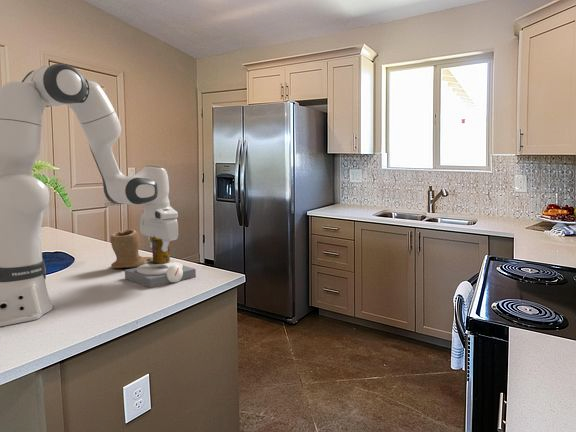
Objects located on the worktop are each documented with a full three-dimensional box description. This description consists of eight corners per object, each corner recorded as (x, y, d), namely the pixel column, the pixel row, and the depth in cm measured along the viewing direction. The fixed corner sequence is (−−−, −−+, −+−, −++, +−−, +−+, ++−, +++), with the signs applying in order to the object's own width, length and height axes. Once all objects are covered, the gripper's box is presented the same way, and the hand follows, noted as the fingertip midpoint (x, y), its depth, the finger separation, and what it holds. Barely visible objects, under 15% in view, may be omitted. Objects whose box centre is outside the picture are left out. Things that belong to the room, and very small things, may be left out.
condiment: (173, 262, 158) (172, 230, 156) (150, 266, 153) (148, 232, 151) (167, 259, 164) (165, 227, 162) (144, 262, 159) (142, 229, 157)
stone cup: (107, 271, 167) (104, 233, 165) (115, 264, 179) (113, 228, 177) (148, 270, 169) (146, 232, 167) (153, 263, 181) (152, 227, 179)
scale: (152, 288, 145) (151, 270, 145) (125, 278, 158) (124, 261, 158) (197, 277, 158) (197, 260, 158) (168, 268, 172) (168, 253, 171)
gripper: (134, 210, 160) (136, 247, 162) (164, 215, 147) (166, 255, 148) (150, 208, 165) (151, 244, 167) (180, 213, 151) (182, 252, 153)
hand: (159, 249), depth 157 cm, fingers closed on condiment, 6 cm apart
